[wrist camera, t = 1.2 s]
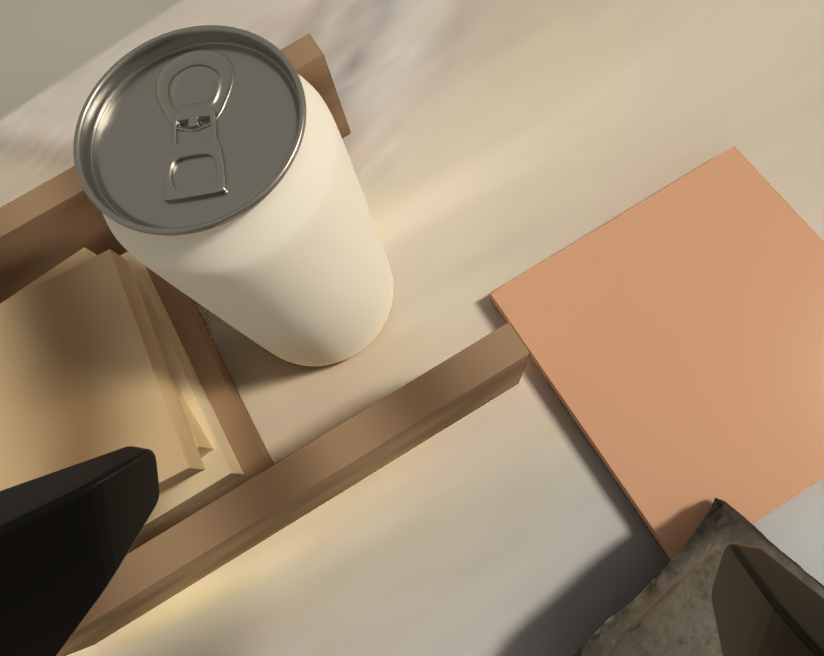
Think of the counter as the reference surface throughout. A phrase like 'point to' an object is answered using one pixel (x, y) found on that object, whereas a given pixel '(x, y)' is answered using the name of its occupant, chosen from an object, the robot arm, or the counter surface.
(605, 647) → the stone slab
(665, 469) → the tile
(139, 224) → the can
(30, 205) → the rack
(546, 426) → the counter surface
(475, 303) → the counter surface
